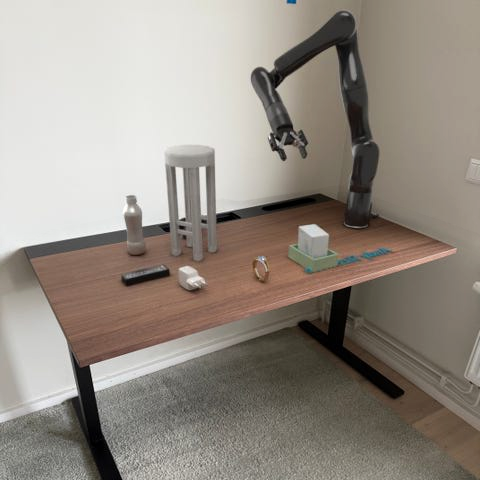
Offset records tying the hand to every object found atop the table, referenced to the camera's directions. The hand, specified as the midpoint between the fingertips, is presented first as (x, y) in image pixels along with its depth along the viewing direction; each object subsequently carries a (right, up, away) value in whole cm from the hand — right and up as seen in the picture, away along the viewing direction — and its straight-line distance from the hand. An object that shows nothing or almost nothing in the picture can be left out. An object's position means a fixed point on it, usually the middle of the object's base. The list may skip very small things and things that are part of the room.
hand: (295, 158), depth 167 cm
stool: (-35, -33, 0) cm, 49 cm away
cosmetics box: (+5, -37, -6) cm, 37 cm away
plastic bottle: (-56, -34, 0) cm, 65 cm away
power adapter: (-33, -48, -24) cm, 63 cm away
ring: (-13, -45, -18) cm, 50 cm away
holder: (+5, -37, -6) cm, 38 cm away
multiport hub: (-49, -44, -18) cm, 68 cm away
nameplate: (+18, -37, -5) cm, 41 cm away
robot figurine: (-38, -22, +20) cm, 48 cm away
